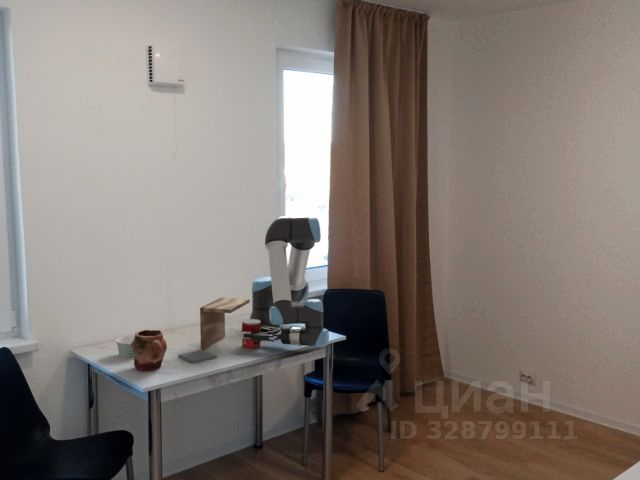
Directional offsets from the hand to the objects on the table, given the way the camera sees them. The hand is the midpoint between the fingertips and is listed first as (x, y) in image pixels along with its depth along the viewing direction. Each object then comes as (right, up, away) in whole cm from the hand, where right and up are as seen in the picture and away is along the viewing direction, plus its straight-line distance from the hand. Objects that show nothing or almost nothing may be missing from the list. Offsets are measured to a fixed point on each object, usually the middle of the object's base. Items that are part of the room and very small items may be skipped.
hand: (241, 331), depth 273 cm
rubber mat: (-15, -8, -17) cm, 24 cm away
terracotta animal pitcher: (-30, -10, -31) cm, 45 cm away
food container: (-43, -8, -13) cm, 46 cm away
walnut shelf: (-6, -6, +3) cm, 9 cm away
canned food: (+4, -6, -1) cm, 8 cm away
